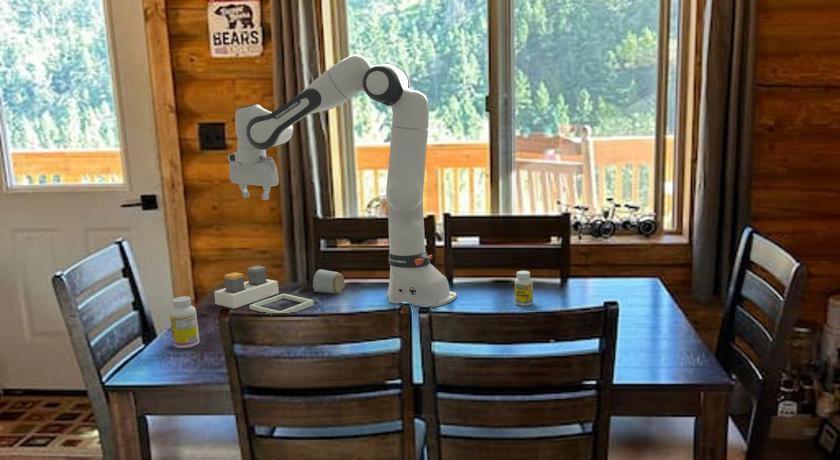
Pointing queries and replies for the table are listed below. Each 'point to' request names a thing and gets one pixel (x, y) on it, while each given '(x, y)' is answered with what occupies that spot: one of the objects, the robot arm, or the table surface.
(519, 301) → the supplement bottle
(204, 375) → the table surface
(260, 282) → the twin plug
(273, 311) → the white square frame
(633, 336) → the table surface
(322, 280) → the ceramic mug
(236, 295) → the socket strip
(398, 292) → the robot arm
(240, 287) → the grey plug
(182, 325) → the supplement bottle
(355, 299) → the table surface
